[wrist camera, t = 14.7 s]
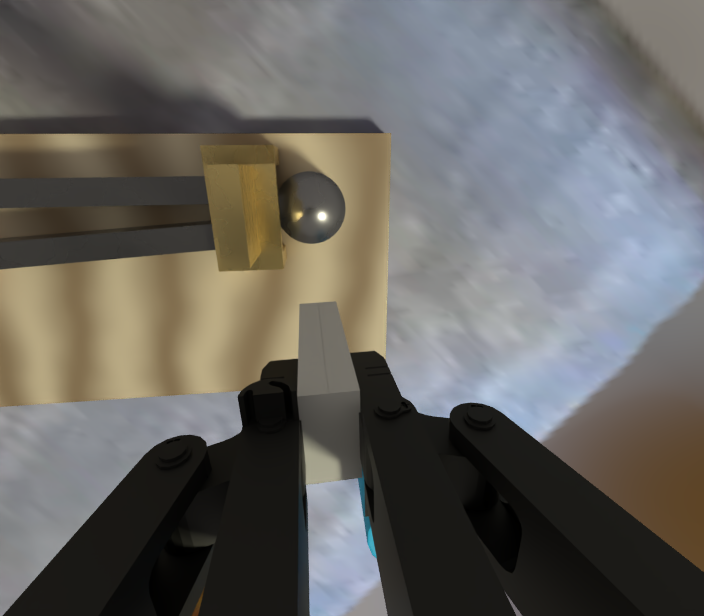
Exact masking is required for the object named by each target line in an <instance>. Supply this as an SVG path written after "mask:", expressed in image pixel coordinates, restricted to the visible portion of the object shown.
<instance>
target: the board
mask: <svg viewBox="0 0 704 616" xmlns="http://www.w3.org/2000/svg"><path fill="white" fill-rule="evenodd" d="M200 145H274V146H275V147H277V148H278V150H279V163H280V165H276V171H277V184H278V191H279V189H280V187H281V186H282V184H283V183H284V182H285V181H286V180H287V179H288V178H290V177H291V176H293V175H295V174H297V173H300V172H306V171H313V172H318V173H321V174H324V175H326V176H327V177H329V178H330V179H332V180H333V181H334V182H335V183H336V184H337V185H338V187H339V188H340V190H341V192H342V194H343V197H344V200H345V207H346V210H345V218H344V221H343V223H342V225H341V227H340V229H339V230H338V231H337V233H336V234H335V235H334V236H332V237H331V238H330V239H328V240H326V241H324V242H321V243H316V244H307V243H302V242H299V241H297V240H295V239H293V238H291V237H290V236H289V235H288V234H287V233H286V232H285V231H284V230H283V229H282V228H281V233H282V245H286V253H287V260H286V263H285V266H284V269H279V270H251V271H223V272H219V270H218V263H217V256H216V250H209V251H198V252H187V253H176V254H165V255H154V256H143V257H132V258H121V259H110V260H99V261H88V262H77V263H66V264H55V265H44V266H33V267H22V268H11V269H0V407H4V406H19V405H34V404H49V403H64V402H79V401H94V400H109V399H124V398H140V397H155V396H170V395H185V394H200V393H215V392H230V391H242V390H243V389H244V388H245V387H247V386H248V385H250V384H252V383H254V382H257V381H259V380H260V377H261V372H262V369H263V368H264V367H265V366H266V365H267V364H268V363H269V362H270V361H276V360H287V359H298V343H299V304H305V303H319V302H333V301H336V303H337V307H338V311H339V314H340V318H341V322H342V325H343V329H344V333H345V337H346V340H347V344H348V348H349V351H350V353H354V352H365V351H376V352H377V353H379V354H380V355H381V356H383V357H384V358H385V359H386V318H387V278H388V238H389V197H390V157H391V133H271V134H0V179H10V178H90V177H170V176H204V169H203V162H202V156H201V149H200ZM209 220H211V216H210V209H209V204H192V205H140V206H89V207H37V208H0V238H10V237H22V236H34V235H46V234H57V233H69V232H81V231H92V230H104V229H116V228H127V227H139V226H151V225H163V224H174V223H186V222H198V221H209Z"/></svg>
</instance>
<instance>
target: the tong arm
mask: <svg viewBox="0 0 704 616" xmlns="http://www.w3.org/2000/svg"><path fill="white" fill-rule="evenodd" d="M209 250H215V243H214V236H213V229H212V223H211V220H209V221H198V222H186V223H174V224H163V225H151V226H139V227H127V228H116V229H104V230H92V231H81V232H69V233H57V234H46V235H34V236H22V237H10V238H0V269H11V268H22V267H33V266H44V265H55V264H66V263H77V262H88V261H99V260H110V259H121V258H132V257H143V256H154V255H165V254H176V253H187V252H198V251H209Z"/></svg>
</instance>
